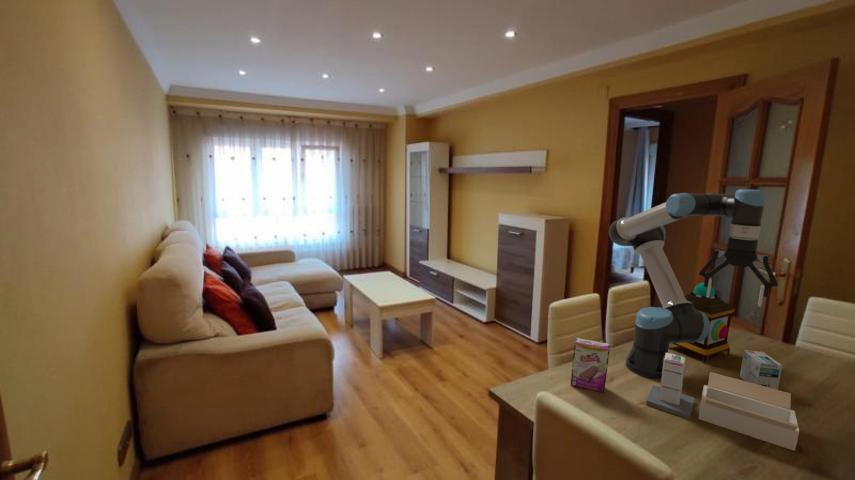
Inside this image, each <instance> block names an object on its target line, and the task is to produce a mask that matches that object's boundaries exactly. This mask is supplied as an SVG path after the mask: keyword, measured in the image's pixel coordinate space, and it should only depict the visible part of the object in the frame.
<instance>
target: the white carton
mask: <svg viewBox="0 0 855 480" xmlns="http://www.w3.org/2000/svg"><path fill="white" fill-rule="evenodd" d="M707 381H708V383H707V385H706V384H703V389H702V393H701V400H700V407H699V413H698V420H701V421H703V422H706V423H710V424H712V425H715V426H719V427H722V428H724V429H727V430H731V431H733V432H736V433H740V434H743V435H746V436H749V437H752V438H755V439H757V440H761V441H764V442H767V443H770V444H773V445H776V446H778V447H782V448H785V449H788V450H792V451H794V452H795V451H796V449H797V443H798V439H799V434H800V428H799V425H798V424H799V423H798V421H797V415H796V411H795V410H793V409H791V403H792V402H791V401H792V400H791V399H792V393H791V392H786V391H784V390H783V391H782V390H779V389H778V390H776V389H772V388H769V387H765V386H761V385H757V384H754V383H750V382H746V381H744V380H743V379H742V380H741V379H739V378H734V377H731V376H727V375H723V374H720V373H716V372H712V371H709V376H708V380H707Z"/></svg>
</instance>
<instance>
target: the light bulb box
mask: <svg viewBox="0 0 855 480" xmlns="http://www.w3.org/2000/svg"><path fill="white" fill-rule="evenodd" d="M782 370H783V364H781V363H780V362H779V361H777V360H775V359H774V358H772V357H771V356H769V355H768V354H767V353H766V352H764V351H757V350H750V349H749V350H747V349H744V350H743V356H742V361H741V367H740V373H739V377H740V378H741V379H742V380H743V381H746V382H750V383H754V384H757V385H761V386H765V387H769V388H772V389H776V390H779V387H780V386H779V385H780V380H781V374H782Z"/></svg>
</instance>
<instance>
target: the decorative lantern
mask: <svg viewBox="0 0 855 480" xmlns="http://www.w3.org/2000/svg"><path fill="white" fill-rule="evenodd" d="M707 289H708V287H704V282H701V283H698V284H697V285H696V286H695V287H694V290H693V291H691V292H690V293H689V294H686V295H684V296H685V298H686V300H687V301H689V302H692V303H693V305H694V307H695V309H696V310H699V311H701V312H702V313H704V314H705V315H706V316H707V317H708V319H709V322H710V331H709V334H708V336H707V337H706V338H705V339H704V340H702V341H698V342H694V343H689V342H687V343H671V344H672V345H675V346H677V347H680V348H682V349H685V350H687V351H689V352H691V353H695V354H697V355H699V356H701V357H702V362H703V364H706V363H707V362H708V359H709V357H711V356H714V355H717V354H720V353H723V354H724V355H725V356H728V355H729V354H730V350H731V348H730V347H731V346H730V345H729V342H728V338H729V337H728V336H729V331H730V324H731V319H732V314H733V313H734V312H735V311H736V307H734V305H732V304H731V303H730V302H727V301H725V300H723V299H721V298H720V297H718V294H715V289H714V288H713V286H712V285H711V289H710V296H709V298H707V297H706V296H707Z"/></svg>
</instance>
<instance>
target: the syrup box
mask: <svg viewBox="0 0 855 480" xmlns="http://www.w3.org/2000/svg"><path fill="white" fill-rule="evenodd" d="M685 364H686V356H683V355H679V354H677V353H671V352H670V353H669V352H668V353H665V356H664V362H663V370H662V379H660V380H661V381H660V386H659V387H660V396H659V399H660V400H662V401H665V402H668V403H672V404H675V405H679V404H680V399H681V394H682V391H683V383H684V376H685Z"/></svg>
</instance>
